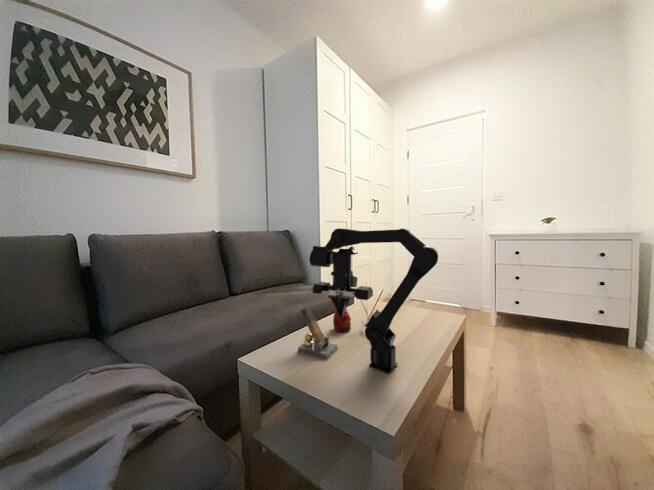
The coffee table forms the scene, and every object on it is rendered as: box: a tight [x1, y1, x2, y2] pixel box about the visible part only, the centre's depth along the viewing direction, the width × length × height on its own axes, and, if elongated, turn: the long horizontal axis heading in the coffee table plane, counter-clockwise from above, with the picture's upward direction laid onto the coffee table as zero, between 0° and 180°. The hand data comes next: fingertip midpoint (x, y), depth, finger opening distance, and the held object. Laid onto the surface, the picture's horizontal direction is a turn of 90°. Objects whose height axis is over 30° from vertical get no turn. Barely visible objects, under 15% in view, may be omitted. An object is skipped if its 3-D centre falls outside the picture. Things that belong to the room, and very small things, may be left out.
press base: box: [297, 332, 338, 360], centre depth 85 cm, size 11×8×5 cm
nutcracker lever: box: [300, 306, 326, 347], centre depth 85 cm, size 2×3×14 cm, turn 152°
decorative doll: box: [332, 308, 352, 333], centre depth 103 cm, size 8×7×15 cm
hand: (341, 316), depth 80 cm, fingers closed
